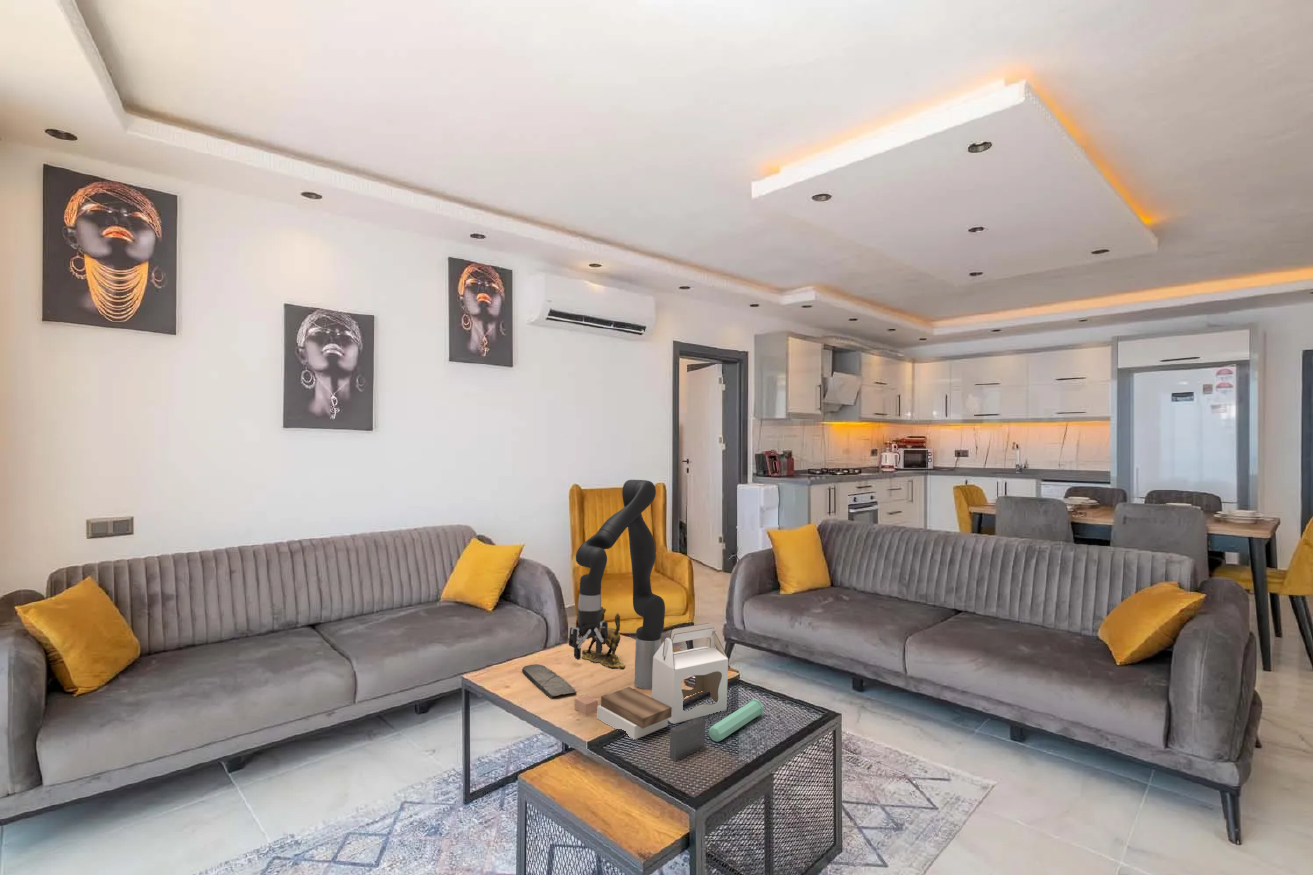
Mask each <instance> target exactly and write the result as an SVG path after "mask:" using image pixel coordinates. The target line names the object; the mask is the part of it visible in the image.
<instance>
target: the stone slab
mask: <svg viewBox="0 0 1313 875" xmlns="http://www.w3.org/2000/svg"><path fill="white" fill-rule="evenodd" d="M521 671H522V674H523V675H524V676H525V677H526V678H527V679H528V680H529V681H530V682H531V683H532V684H533V686H535V687H536V688H537V689H538V690H539V691H540V692H542V693H543V694H544V695H545V696H546V697H547V696H548V697H547V698H549V699H550V700H552V699H553V698H554V697H556V696H557V697H558V696H561V695H567V694H574V695H577V691H576V689H575V688H574V687H573V686H572V685H571V684H570V683H569V681H567V680H566V679H565V678H563V677H561V675H558V674H557V673H556V672H555V671H553V670H551V669H550V668H548V667H546V666H545V665H542V664H534V663H533V664H528V665H525V666H523V667H522V669H521Z"/></svg>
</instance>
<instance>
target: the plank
mask: <svg viewBox="0 0 1313 875" xmlns="http://www.w3.org/2000/svg"><path fill="white" fill-rule="evenodd" d="M600 696H601V697H600V705H601V706H602V707H604V708H606V709H608V710H610V711H611V712H613V713H615V714H617V715H619V716H621V717H622V718H624V719H626V720H628V721H630V722H632V723H633V724H635V725H637V726H639V727H641V728H645V727H648V726H650V725H653V724H655V723H658V722H660V721H663V720H665V719H668V718H670V717H671V712H672V707H670V706H668V705H666V704H664V703H662V702H660V701H658V700H655V699H653V698H652V696H649V695H647V694H645V693H644V692H640V691H639V690H637V689H635V688H633V687H631V686H628V687H625V688H621V689H619V690H616V691H613V692H611V693H607V694H603V695H600Z"/></svg>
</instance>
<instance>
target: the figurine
mask: <svg viewBox="0 0 1313 875" xmlns="http://www.w3.org/2000/svg"><path fill="white" fill-rule="evenodd" d="M606 612H607V609H606V608H604V607H603V606H601V620H603V621H605V614H606ZM614 623H615V628H612V627H608V638H607V639H605V640H604V641H603V643H602V645H606V646H607V647H608V648H609V649H608V651H607V653H603V652H602V651H601V654H598V653H596V651H594V650H593V649H592V647H593V645H594V644H595V643H596V641H597V640H596V639H595V637H594V638H591V641H590V644H589V646H588V648H587V649H583V650H581V660H585V661H590V663H592V662H593V664H600V665H601V666H603V667H606V668H608V669H611V670H624V669H625V668H626V664H625V663H624V662H621V661H620V660H619V657H618V655H617V654H616V651H617V649H618V647H619V644H620V642H621V634H620V632H619V631H620V630H621V628H620V627H621V615H620V614H619V612H617V613H616V614H615V616H614ZM598 631H599V633H600V628H599V630H598Z"/></svg>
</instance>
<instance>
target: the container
mask: <svg viewBox="0 0 1313 875" xmlns="http://www.w3.org/2000/svg"><path fill="white" fill-rule="evenodd" d="M764 709H765V707H764V705H763V703H762V702H761V700H759V699H758V698H757V699H756V698H752V699H751V700H748V702H747V703H746V704H745V705H743V706H742V707H740V708H738V709H737V710H735V711H733V713H730V714H729V715H727V716H725V717H724V718H723V719H721V720H720V721H718V722H716V723H714V724H713V725H712V726H711V727H710V728H709V733H708V734H709V737H710V738H711V741H714V742H717V743H719V742H721V741H723V740H724V739H726V738H727V737H729V736H730V735H731V734H733V733H735V732H736V731H737V730H739V729H740V728H742V727H744V726H746V724H749V722H751V721H752V720H754V719H755V718H757V717H758V718H759V717H761V716H762V715H764V712H765V711H764Z"/></svg>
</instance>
